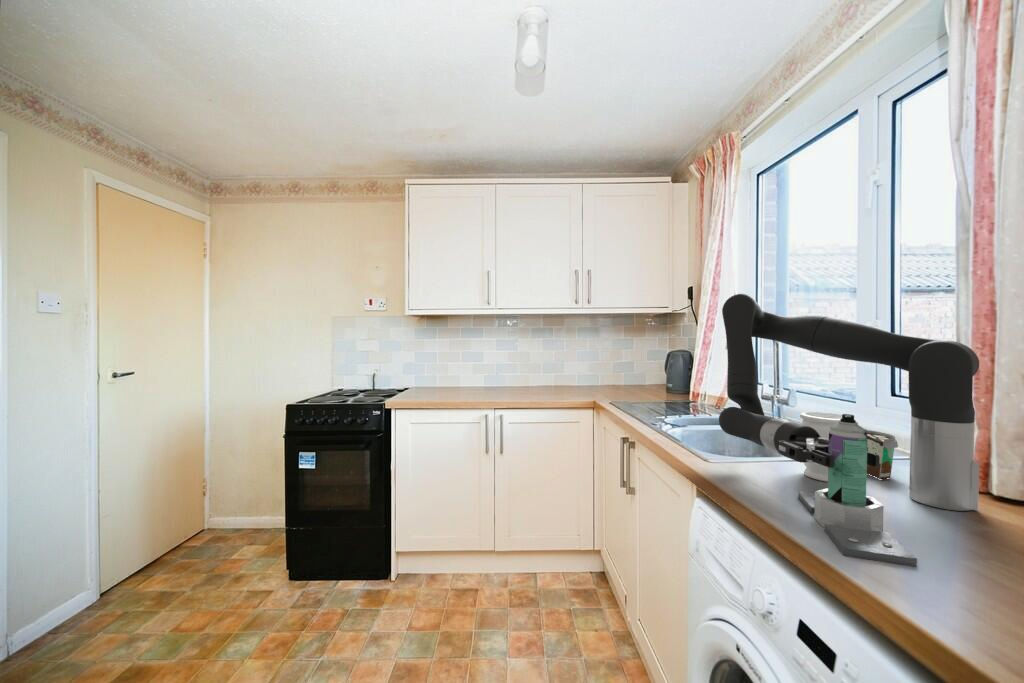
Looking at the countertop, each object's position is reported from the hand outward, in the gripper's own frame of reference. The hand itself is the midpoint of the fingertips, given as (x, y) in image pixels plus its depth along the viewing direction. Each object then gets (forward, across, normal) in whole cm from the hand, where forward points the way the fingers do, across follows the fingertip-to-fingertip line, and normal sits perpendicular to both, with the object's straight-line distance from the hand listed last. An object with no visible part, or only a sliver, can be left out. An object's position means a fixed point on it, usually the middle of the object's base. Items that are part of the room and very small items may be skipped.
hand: (855, 461), depth 76 cm
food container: (-28, +32, +12) cm, 45 cm away
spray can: (-2, 0, +12) cm, 12 cm away
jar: (-26, +17, +12) cm, 34 cm away
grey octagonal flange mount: (-1, 0, +12) cm, 12 cm away
